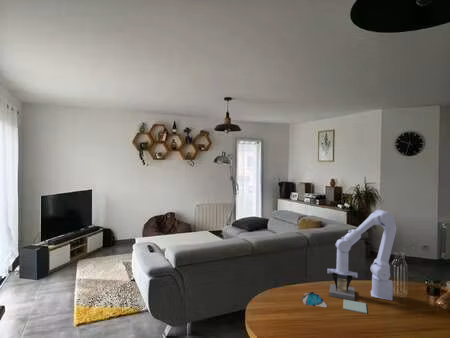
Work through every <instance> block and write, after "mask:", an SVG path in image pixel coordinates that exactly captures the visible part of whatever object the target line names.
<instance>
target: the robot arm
mask: <svg viewBox="0 0 450 338" xmlns="http://www.w3.org/2000/svg"><path fill="white" fill-rule="evenodd" d="M395 219H396V217H394V215H393V214H392V213H391V212H389V211H385V210H382V209H381V208H379V209H376V210H374V211H373V212H372V213H370V214H369V215H368V217H367V218H366V219H365V220H364V221H363V222H362V223H361V224H359V225H358V227H357V228H356V229H353V228H352V229H349V230H348V231H347V232H348V233H346V234H345V235H344V236H341V238H339V239H337V240H336V243H334V245H335V248H336V268H327V274H332V275H331V277H332V279H333V281H334V284H335V285H336V289H337V280H338V275H339V276H346V280H347V286H346V290H348V287H350V284H351V282H352V280H353V278H355V279H356V278H358V272H357V271H356V272H354V271H350V270H349V251H351V248H352V246H353V245H354V244H355V243H357V242H358V241H359V240H360V239H361V238H362V234H363V233H364V232H366V231H367V230H369V229H371V227H373V226H376V225H378V226H379V225H380V226H381V227H382V228H383V233H382V237H381V240H380V245H379V249H378V253H377V256H376V258H375V259H374V261H373V263H372V264H371V265H370V272H371V273H372V275H371V290H370V297H372V298H377V299H381V300H388V301H393V300H394V299H393V293H394V292H393V280H392V279H390V277H391V265H390V263H389V261H390V257H391V254H392V249H393V245H394V241H395V237H396V233H397V226H396V225H397V224H396V222H395Z"/></svg>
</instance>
